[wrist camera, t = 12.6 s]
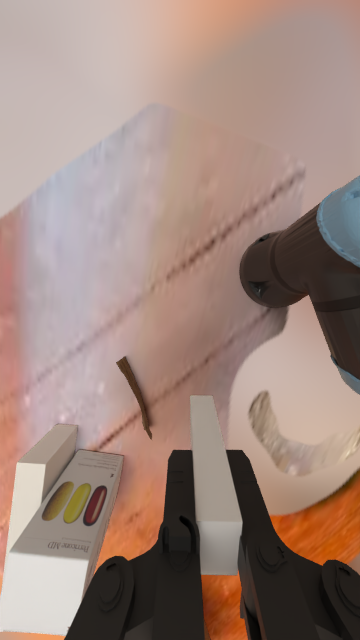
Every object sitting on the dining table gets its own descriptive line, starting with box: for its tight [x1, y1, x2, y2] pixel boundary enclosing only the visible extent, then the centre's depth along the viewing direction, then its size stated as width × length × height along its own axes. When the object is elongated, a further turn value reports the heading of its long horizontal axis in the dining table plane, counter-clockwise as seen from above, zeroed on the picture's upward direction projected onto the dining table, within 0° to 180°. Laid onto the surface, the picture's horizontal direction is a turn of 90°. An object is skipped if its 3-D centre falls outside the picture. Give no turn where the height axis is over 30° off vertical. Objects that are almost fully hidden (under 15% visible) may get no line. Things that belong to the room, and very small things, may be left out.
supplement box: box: [0, 450, 124, 636], centre depth 29 cm, size 10×9×17 cm
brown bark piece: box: [116, 356, 152, 439], centre depth 36 cm, size 15×2×5 cm, turn 20°
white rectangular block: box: [2, 424, 78, 585], centre depth 32 cm, size 4×22×10 cm, turn 173°
